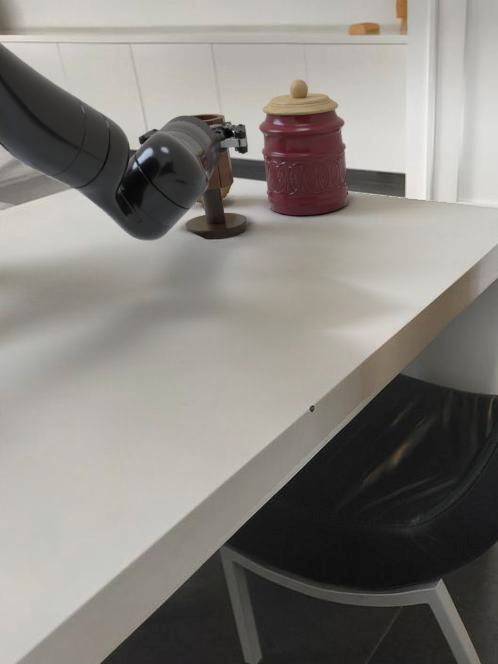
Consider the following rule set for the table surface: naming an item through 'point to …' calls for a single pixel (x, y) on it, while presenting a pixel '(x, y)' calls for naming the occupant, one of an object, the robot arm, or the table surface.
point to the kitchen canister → (304, 153)
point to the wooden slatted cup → (224, 169)
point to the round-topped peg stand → (216, 219)
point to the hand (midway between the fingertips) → (204, 131)
